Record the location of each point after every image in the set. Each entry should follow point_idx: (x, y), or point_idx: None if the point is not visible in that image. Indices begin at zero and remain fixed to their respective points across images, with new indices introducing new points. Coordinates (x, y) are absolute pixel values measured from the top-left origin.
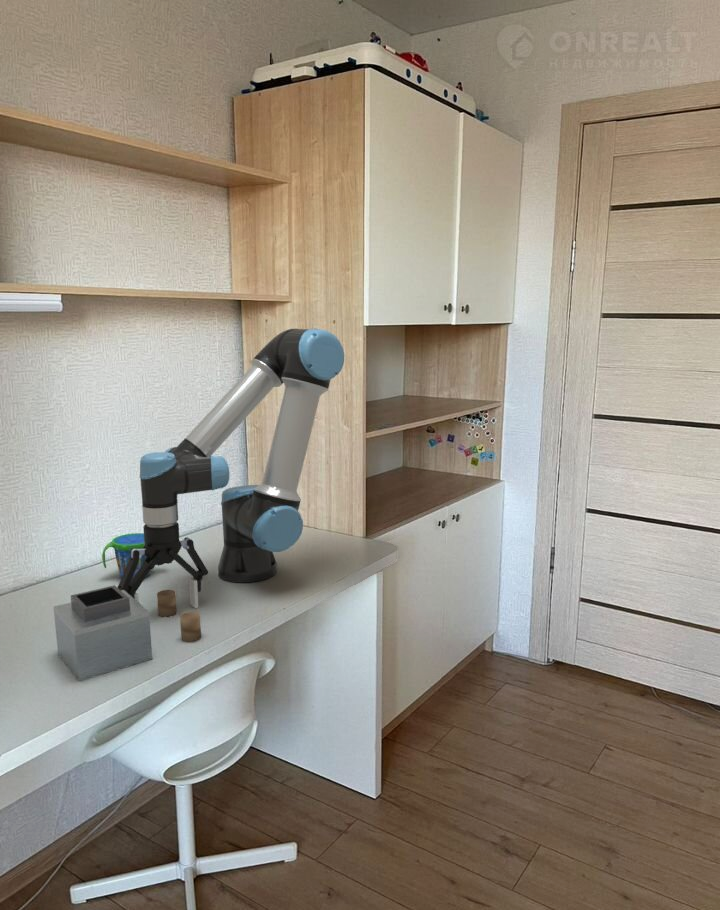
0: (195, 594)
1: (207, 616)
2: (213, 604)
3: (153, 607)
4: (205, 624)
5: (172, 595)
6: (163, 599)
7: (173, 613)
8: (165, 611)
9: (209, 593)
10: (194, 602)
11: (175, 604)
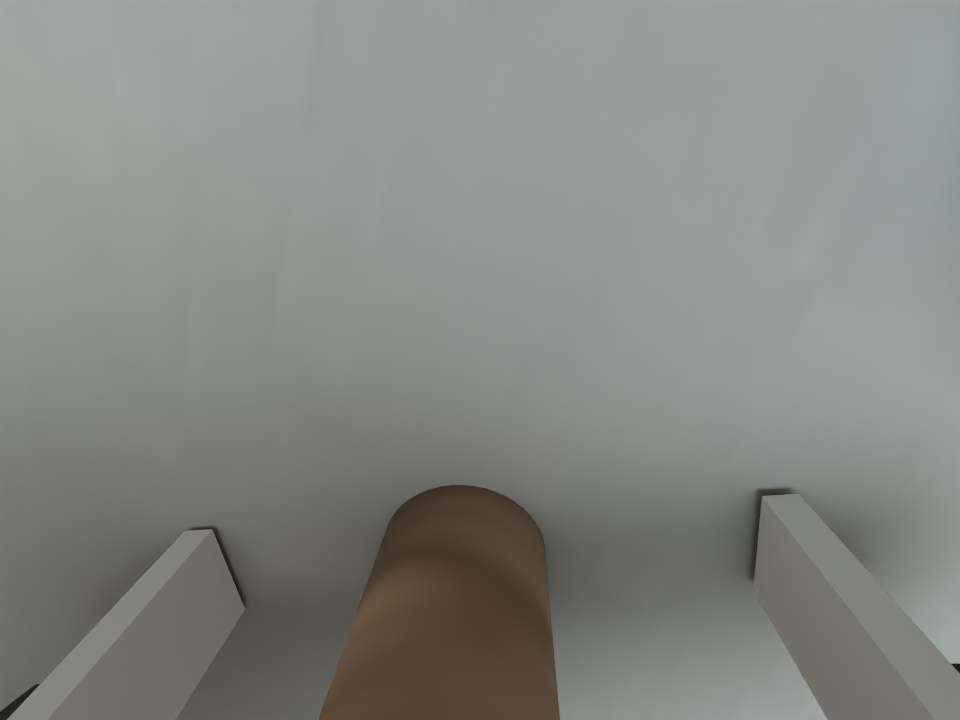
0: (94, 652)
1: (114, 309)
2: (55, 527)
3: None
4: (144, 100)
5: (363, 705)
6: (507, 680)
7: (420, 507)
8: (497, 536)
9: None
10: (183, 581)
11: (369, 589)
